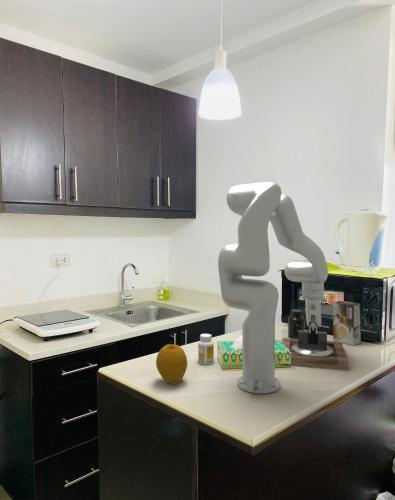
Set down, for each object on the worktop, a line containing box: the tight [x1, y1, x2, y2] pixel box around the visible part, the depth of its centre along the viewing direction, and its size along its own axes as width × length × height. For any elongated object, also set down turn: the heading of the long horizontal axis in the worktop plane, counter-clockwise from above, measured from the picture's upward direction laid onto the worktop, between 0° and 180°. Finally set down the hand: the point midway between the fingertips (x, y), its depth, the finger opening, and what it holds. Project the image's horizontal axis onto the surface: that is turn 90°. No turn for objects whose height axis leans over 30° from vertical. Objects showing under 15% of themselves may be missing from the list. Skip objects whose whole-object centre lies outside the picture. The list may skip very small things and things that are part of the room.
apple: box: [155, 343, 188, 384], centre depth 117 cm, size 10×10×12 cm
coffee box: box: [332, 300, 362, 346], centre depth 156 cm, size 9×6×16 cm
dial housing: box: [281, 337, 349, 371], centre depth 139 cm, size 22×22×3 cm
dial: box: [292, 330, 333, 357], centre depth 138 cm, size 14×14×8 cm
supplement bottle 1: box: [197, 333, 215, 366], centre depth 134 cm, size 5×5×10 cm
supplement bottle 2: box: [287, 308, 306, 339], centre depth 161 cm, size 7×7×12 cm
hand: (312, 340), depth 139 cm, fingers open, 9 cm apart
